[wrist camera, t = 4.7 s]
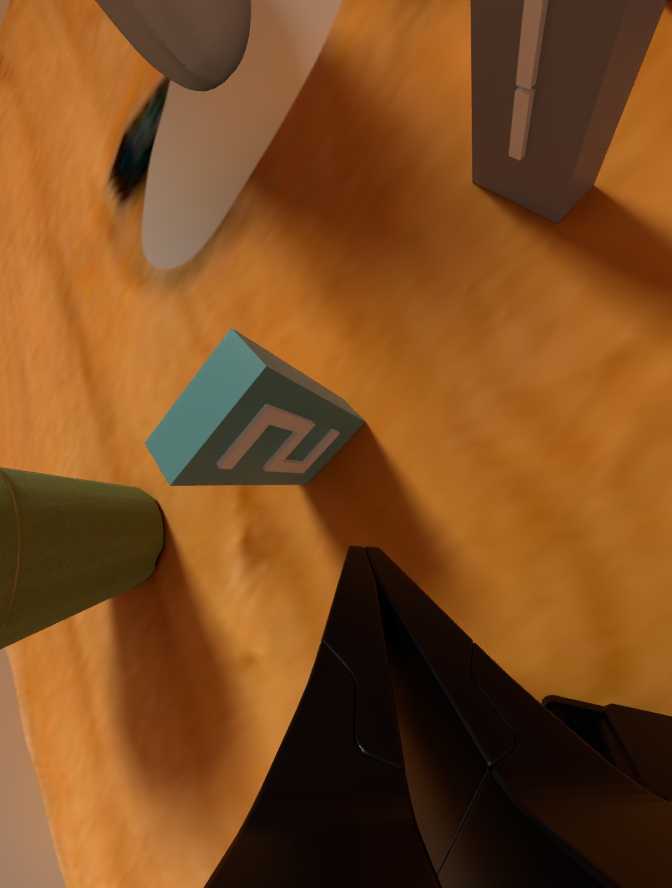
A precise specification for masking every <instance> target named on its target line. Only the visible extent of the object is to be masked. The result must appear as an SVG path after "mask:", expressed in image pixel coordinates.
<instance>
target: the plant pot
mask: <svg viewBox="0 0 672 888" xmlns="http://www.w3.org/2000/svg"><path fill="white" fill-rule="evenodd" d="M162 547H163V522H162V517H161V514H160V511H159V508H158V506H157V504H156V502H155V501H154V499H153V498H152V497H151V496H149V495H148V494H146V493H145V492H143V491H142V490H141V489H139V488H136V487H129V486H123V485H116V484H110V483H103V482H96V481H89V480H82V479H74V478H68V477H62V476H55V475H49V474H42V473H35V472H29V471H22V470H15V469H8V468H2V467H0V649H2V648H4V647H7V646H9V645H11V644H13V643H15V642H17V641H19V640H22V639H24V638H26V637H28V636H30V635H32V634H34V633H37V632H39V631H41V630H43V629H45V628H47V627H49V626H52V625H54V624H56V623H58V622H60V621H62V620H65V619H67V618H69V617H71V616H73V615H75V614H77V613H80V612H82V611H84V610H86V609H88V608H90V607H92V606H94V605H97V604H99V603H101V602H103V601H105V600H107V599H109V598H112V597H114V596H116V595H118V594H120V593H122V592H124V591H126V590H128V589H131V588H133V587H135V586H137V585H139V584H141V583H143V582H144V581H145V580H146V579H147V578H148V577H149V576H150V575H151V574H152V572H153V571H154V569H155V562H156V559H157V557H158V555H159V553H160V551H161V549H162Z"/></svg>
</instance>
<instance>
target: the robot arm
mask: <svg viewBox="0 0 672 888" xmlns="http://www.w3.org/2000/svg"><path fill="white" fill-rule="evenodd" d="M553 709H560V710H562V711H563V712H564V714H563V715H562V716H561V717H556V716H555V715H554V714H552V713H551V711H552V710H553ZM204 888H672V717H671V716H667V715H662V714H658V713H653V712H648V711H644V710H639V709H635V708H630V707H626V706H621V705H616V704H609V705H606V706H600V705H595V704H591V703H586V702H582V701H577V700H573V699H568V698H564V697H560V696H555V695H549V696H546V697H544V699H543V700H542V704H541V703H540V702H538V701H537V700H536V699H535V698H534V697H533V696H532V695H531V694H529V693H528V692H527V691H526V690H525V689H524V688H523V687H522V686H520V685H519V684H518V683H517V682H516V681H515V680H514V679H513V678H511V677H510V676H509V675H508V674H507V673H506V672H505V671H504V670H503V669H502V668H501V667H500V666H499V665H498V664H497V663H496V662H495V661H494V660H493V659H491V658H490V657H489V656H488V655H487V654H486V653H485V652H484V651H483V650H482V649H481V648H480V647H479V646H478V645H477V644H476V643H473V640H472V639H471V638H470V637H469V636H468V635H467V634H466V633H465V632H464V631H463V630H462V629H461V628H460V627H459V626H458V625H457V624H456V623H455V622H454V621H453V620H452V619H451V618H450V617H449V616H448V615H447V614H446V613H445V612H444V611H443V610H442V609H441V608H440V607H439V606H438V605H437V604H436V603H435V602H434V601H433V600H432V599H431V598H430V597H429V596H428V595H427V594H426V593H425V592H424V591H423V590H422V589H421V588H420V587H419V586H418V585H417V584H416V583H415V582H414V581H413V580H412V579H410V578H409V577H408V576H407V575H406V574H405V573H404V572H403V571H402V570H401V569H400V568H399V567H398V566H397V565H396V564H395V563H394V562H393V561H392V560H391V559H390V558H389V557H388V556H387V555H386V554H385V553H384V552H383V551H382V550H381V549H380V548H379V547H365V548H363V547H362V546H350V547H349V548H348V551H347V554H346V558H345V561H344V565H343V568H342V571H341V575H340V578H339V582H338V585H337V588H336V592H335V595H334V599H333V602H332V605H331V609H330V612H329V616H328V619H327V622H326V626H325V629H324V633H323V636H322V639H321V644H320V646H319V649H318V652H317V656H316V659H315V662H314V665H313V668H312V671H311V674H310V677H309V680H308V683H307V685H306V688H305V690H304V693H303V695H302V697H301V700H300V702H299V705H298V707H297V709H296V712H295V714H294V716H293V718H292V721H291V723H290V725H289V727H288V729H287V732H286V734H285V736H284V738H283V741H282V743H281V745H280V747H279V749H278V752H277V754H276V756H275V758H274V761H273V763H272V765H271V767H270V769H269V772H268V774H267V776H266V778H265V780H264V783H263V785H262V787H261V789H260V791H259V793H258V795H257V797H256V799H255V801H254V803H253V806H252V808H251V809H250V811H249V813H248V815H247V817H246V819H245V821H244V823H243V825H242V826H241V828H240V830H239V832H238V834H237V835H236V837H235V839H234V840H233V842H232V843H231V845H230V847H229V848H228V850H227V851H226V853H225V854H224V856H223V858H222V859H221V861H220V862H219V864H218V866H217V867H216V869H215V870H214V872H213V873H212V875H211V877H210V878H209V880H208V881H207V883H206V885H205V886H204Z"/></svg>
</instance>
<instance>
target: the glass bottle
mask: <svg viewBox="0 0 672 888" xmlns="http://www.w3.org/2000/svg"><path fill="white" fill-rule="evenodd" d="M95 1H96V2H97V3H98V4H99V6H100V7H101V8H102V9H103V11H104V12H105V13H106V15H107V16H108V17H109V18H110V20H111V21H112V22H113V23H114V25H115V26H116V27H117V28H118V29H119V31H120V32H121V33H122V34H123V35H124V37H125V38H126V39H127V40H128V41H129V42H130V44H131V45H132V46H133V47H134V48H135V49H136V50H137V51H138V52H139V53H140V54H141V55H142V57H143V58H144V59H145V60H147V61H148V62H149V63H150V64H151V65H152V66H153V67H154V68H155V69H157V70H158V71H159V72H160V73H162V74H163V75H164V76H166V77H167V78H169V79H170V80H172V81H173V82H175V83H177V84H179V85H181V86H183V87H185V88H187V89H190V90H195V91H208V90H211V89H214V88H216V87H217V86H219V85H220V84H222V83H223V82H225V81H226V80H227V79H228V77H229V76H230V75H231V74H232V73H233V72H234V71H235V70H236V68H237V67H238V65H239V64H240V62H241V60H242V58H243V55H244V52H245V49H246V45H247V41H248V37H249V30H250V20H251V0H95Z"/></svg>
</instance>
